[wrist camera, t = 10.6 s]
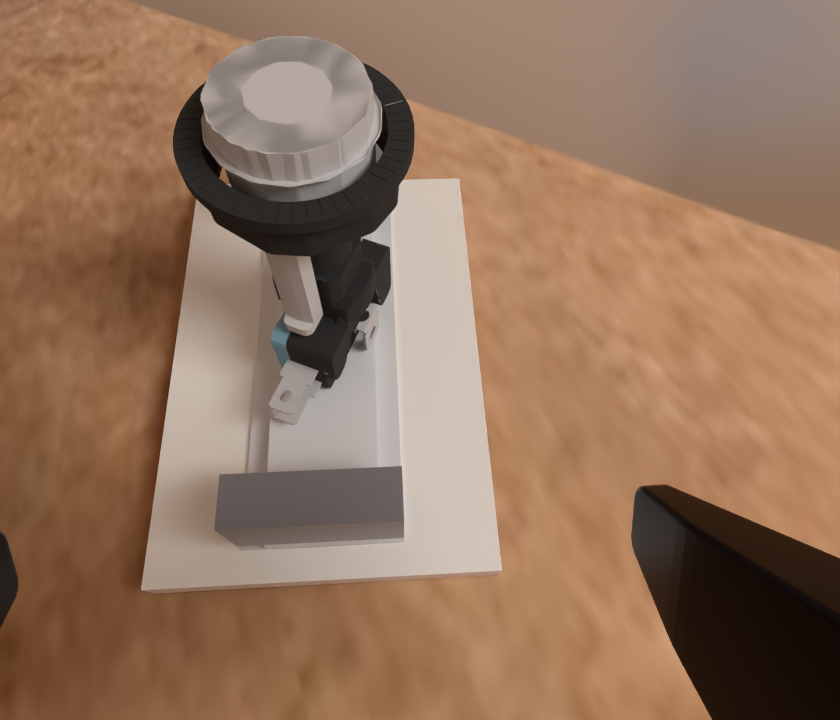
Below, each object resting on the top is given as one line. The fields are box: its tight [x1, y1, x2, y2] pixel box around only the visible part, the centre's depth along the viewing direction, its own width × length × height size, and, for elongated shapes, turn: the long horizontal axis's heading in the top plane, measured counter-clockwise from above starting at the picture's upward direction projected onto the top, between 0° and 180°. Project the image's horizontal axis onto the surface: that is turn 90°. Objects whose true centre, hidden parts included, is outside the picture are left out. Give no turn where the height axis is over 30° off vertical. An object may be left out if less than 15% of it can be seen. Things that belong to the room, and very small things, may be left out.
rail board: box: [141, 143, 502, 594], centre depth 21 cm, size 16×11×4 cm
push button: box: [173, 36, 414, 425], centre depth 17 cm, size 7×5×10 cm
